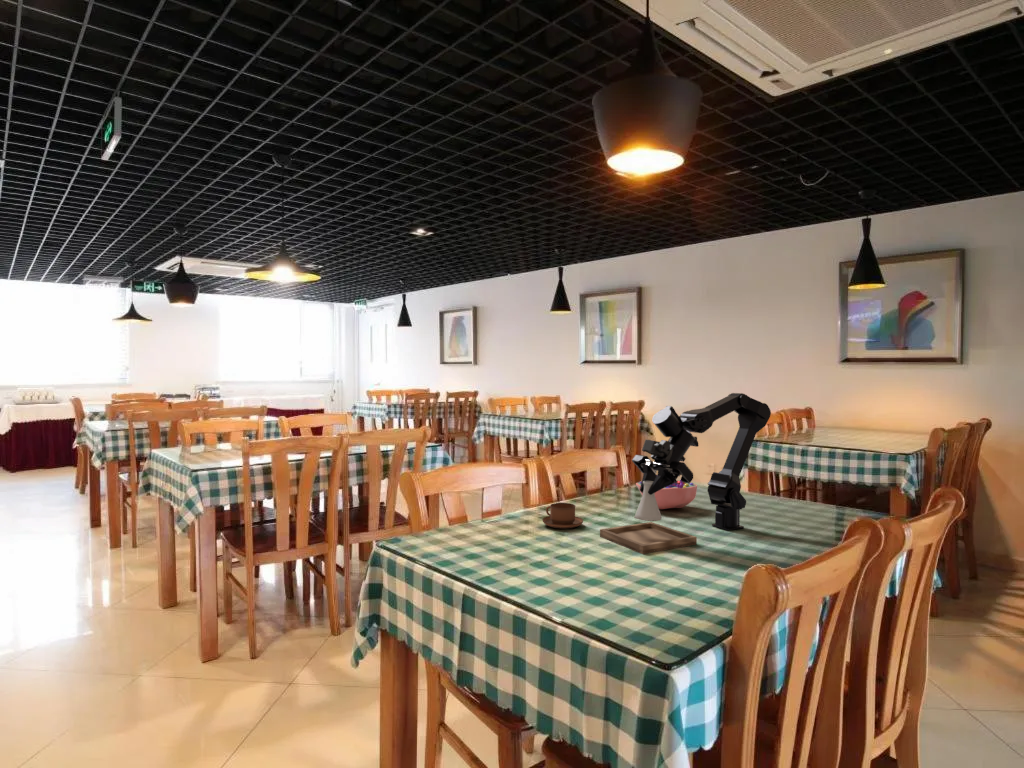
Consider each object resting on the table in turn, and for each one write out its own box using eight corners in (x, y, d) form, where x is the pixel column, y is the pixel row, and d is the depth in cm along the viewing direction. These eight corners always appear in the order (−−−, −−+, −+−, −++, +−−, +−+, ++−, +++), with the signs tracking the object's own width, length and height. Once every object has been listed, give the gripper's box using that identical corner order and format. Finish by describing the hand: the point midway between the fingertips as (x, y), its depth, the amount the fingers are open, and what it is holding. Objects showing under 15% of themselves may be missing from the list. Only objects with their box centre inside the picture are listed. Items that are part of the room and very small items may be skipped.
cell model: (704, 514, 192) (704, 479, 192) (641, 514, 192) (641, 479, 192) (689, 503, 209) (689, 470, 209) (631, 503, 209) (632, 470, 209)
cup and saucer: (536, 529, 175) (536, 507, 175) (549, 519, 186) (549, 499, 186) (576, 533, 170) (576, 511, 170) (587, 523, 181) (587, 503, 181)
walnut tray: (651, 528, 174) (651, 521, 174) (696, 544, 158) (696, 536, 158) (600, 536, 166) (600, 529, 166) (642, 554, 150) (642, 546, 150)
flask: (654, 523, 156) (655, 485, 156) (629, 518, 161) (630, 481, 161) (666, 518, 162) (667, 481, 162) (641, 514, 167) (643, 478, 167)
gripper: (636, 426, 171) (606, 468, 166) (685, 431, 155) (652, 478, 150) (658, 451, 175) (628, 493, 170) (707, 459, 159) (676, 506, 154)
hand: (645, 492), depth 161 cm, fingers closed on flask, 3 cm apart
